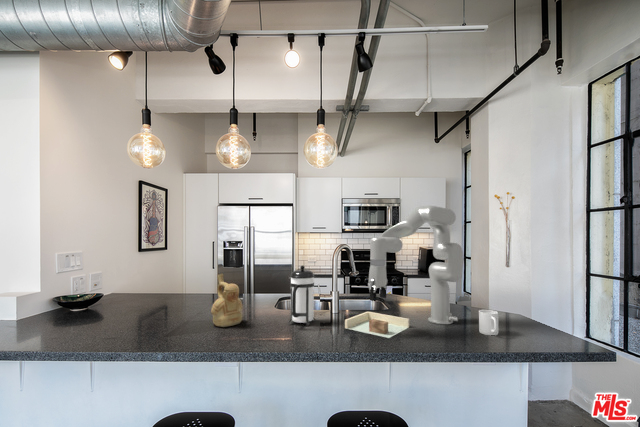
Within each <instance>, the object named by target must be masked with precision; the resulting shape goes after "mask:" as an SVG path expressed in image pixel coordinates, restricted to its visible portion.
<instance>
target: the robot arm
mask: <svg viewBox="0 0 640 427" xmlns="http://www.w3.org/2000/svg"><path fill="white" fill-rule="evenodd" d="M456 217H457V216H456V213H455V212H454V210H452V209H450V208H446V207H442V206H436V205H428V206H427V205H426V206H425V205H424V206H418V207H416V208H415V209H413V211H412V212H410V214H408V215H407V216H406V217H405V218H404V219H403V220H401V222H398V223H397V224H395V225H393V226H391V227H390V228H388V229H386V230H385V231H384V232H383V233H381V235H380V236H378V237H372V238H371V239H370V257H369V258H370V260H369V261H370V262H369V263H370V264H369V265H370V266H369V272H368V283H367V286H368V287H367V288H368V290H369V301H371V302H377V292H376V291H377V289H378V288H380V289H379V298H382V299H386V298H387V289H388V288H387V286H388V281H389V280H388V278H387V253H392V254H393V253H399V252H401V250H402V249H403V241H402V240H401V239H402V238H405V237H410V236H412V235H414V234H416V232H418V230H419V229H420V228H422V226H423V225H424V224H426V223H427V224H428V226H430V227H431V229H432V232H433V245H432V246H433V248H432V255H433V257H434V258H435V259H436V260H442V261H447V262H442V261H435V262H432V263H430V265H429V267H428V275H429V280H430V281H429V282H430V316H429V317H428V318H427V321H428V322H430V323H432V324H436V325H451V324H453V323H454V322H458V321H459V317H457V316H455V315H454V316H453V315H452V312H451V311H450V310H451V306H450V305H451V304H450V302H451V300H450V299H451V297H450V295H451V294H450V293H451V292H450V291H451V289H450V286H449V283H457V282H459V281H460V280H461V278H462V274H463V263H464V251H463V250H464V249H463V248H462V246H461V245H460V244H458V243H457V242H451V231H450V229H449V227H448V226H452V225H453V224H454V223H455V222H456V219H457V218H456ZM448 282H449V283H448Z"/></svg>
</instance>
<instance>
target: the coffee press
mask: <svg viewBox="0 0 640 427" xmlns="http://www.w3.org/2000/svg"><path fill="white" fill-rule="evenodd" d="M314 279H315V274H314V272H313V271H311V270H308V269H306V268H305V266H304V265H300V269H298V270H294V271H292V272H291V273H290V319H289V321H288V325H290V326H291V325H293V324H294V323H300V324H301V323H303V324H305V326H306V327H309V326H310V322H316V318H315V317H314V313H315V312H314V309H315V306H314V301H315V300H314V299H315V298H314V297H315V296H314V293H315V290H314V289H315V287H314V286H315V280H314Z"/></svg>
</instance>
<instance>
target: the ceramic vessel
mask: <svg viewBox="0 0 640 427" xmlns="http://www.w3.org/2000/svg"><path fill="white" fill-rule="evenodd" d="M217 279H218V281H217V282H218V284H217V290H216V291H217V297H218V298H217V299H216V300H214V303H213V304H212V305H211V311H210V313H211V314H212V322H213V325H214V326H216V327H221V328H227V327H231V326H236V325H240V323H241V322H242V320H243V313H242V311H243V308H244V307H243V303H242V300H241V299H240V298H239V296H240V288H239V286H238V285H237V284H235V283H227V282H225V279H224V274H223V273H220V274H217Z"/></svg>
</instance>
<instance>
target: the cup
mask: <svg viewBox="0 0 640 427" xmlns="http://www.w3.org/2000/svg"><path fill="white" fill-rule="evenodd" d="M478 329H479V333H480V334H483V335H485V336H491V335H495V336H498V335H499V312H498V311H497V310H492V309H479V310H478Z"/></svg>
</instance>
